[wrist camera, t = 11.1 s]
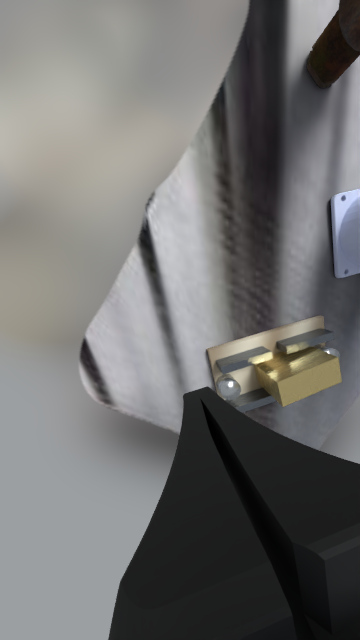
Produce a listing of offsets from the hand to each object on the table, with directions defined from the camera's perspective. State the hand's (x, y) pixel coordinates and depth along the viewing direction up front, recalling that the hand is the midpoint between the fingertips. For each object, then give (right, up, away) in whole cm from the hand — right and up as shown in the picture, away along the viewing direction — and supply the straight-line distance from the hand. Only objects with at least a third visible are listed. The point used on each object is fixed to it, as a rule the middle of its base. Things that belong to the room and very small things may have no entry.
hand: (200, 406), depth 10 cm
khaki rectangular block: (+10, 0, +11) cm, 15 cm away
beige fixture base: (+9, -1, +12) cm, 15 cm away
